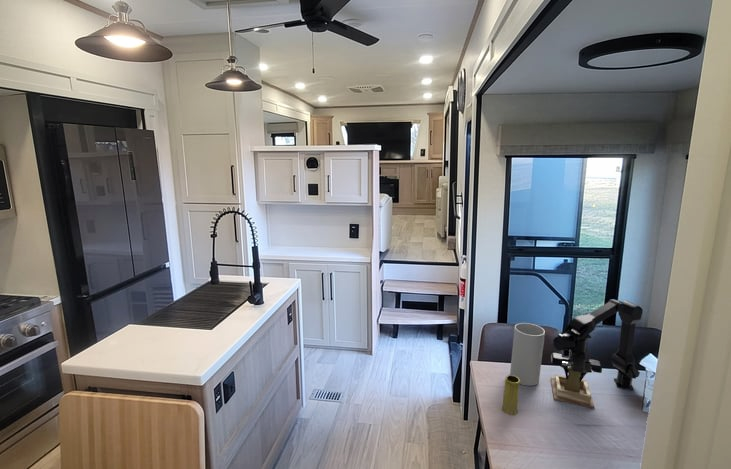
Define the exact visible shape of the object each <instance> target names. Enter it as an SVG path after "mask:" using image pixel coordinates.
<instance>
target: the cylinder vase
mask: <svg viewBox="0 0 731 469" xmlns="http://www.w3.org/2000/svg"><path fill="white" fill-rule="evenodd" d="M513 330H514V331H513V341H512V351H511V360H510V361H511V362H510V371H509V375H513V376H516V377H518V378H519V380H520V382H519V385H522V386H527V387H533V386H536V385H538V384H539V382H540V375H541V367H542V360H543V359H542V358H543V353H544V352H543V351H544V343H545V335H546V334H545V333H546V331H545V329H544V328H543V327H541V326H539V325H537V324H533V323H530V322H529V323H528V322H520V323H517V324H515V325H514V329H513Z"/></svg>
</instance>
